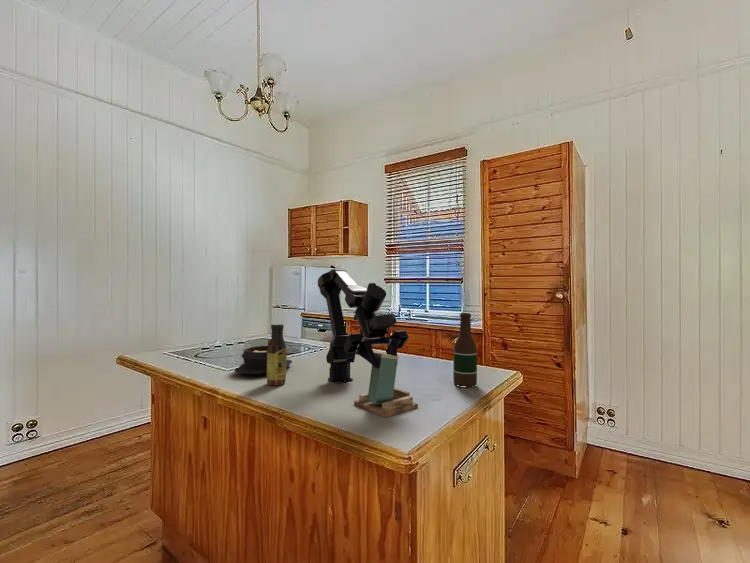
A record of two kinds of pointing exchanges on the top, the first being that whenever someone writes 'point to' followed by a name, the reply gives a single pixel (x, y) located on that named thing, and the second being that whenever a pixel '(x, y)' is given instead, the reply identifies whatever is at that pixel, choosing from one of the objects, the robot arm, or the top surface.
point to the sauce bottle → (276, 357)
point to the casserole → (256, 361)
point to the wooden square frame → (388, 403)
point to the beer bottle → (465, 355)
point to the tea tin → (383, 379)
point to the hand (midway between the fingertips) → (387, 366)
